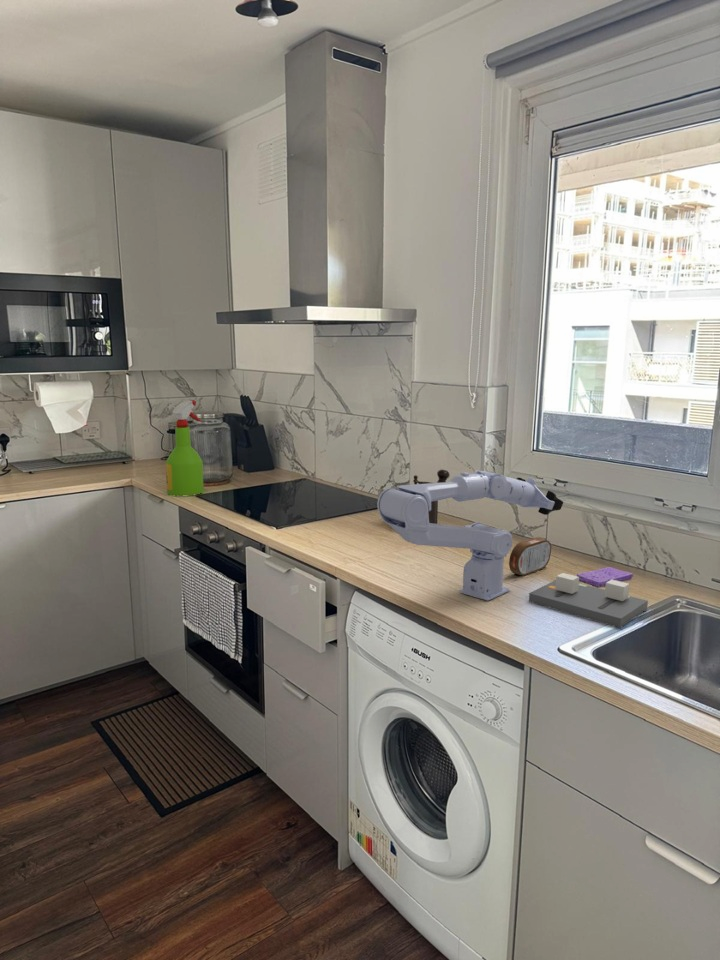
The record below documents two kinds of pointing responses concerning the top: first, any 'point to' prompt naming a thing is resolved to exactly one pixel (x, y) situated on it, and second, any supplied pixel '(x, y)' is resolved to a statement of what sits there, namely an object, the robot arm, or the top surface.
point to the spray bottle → (184, 457)
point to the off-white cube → (567, 583)
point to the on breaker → (617, 590)
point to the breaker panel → (589, 604)
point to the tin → (530, 556)
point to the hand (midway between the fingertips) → (548, 499)
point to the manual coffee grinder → (434, 504)
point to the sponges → (604, 576)
